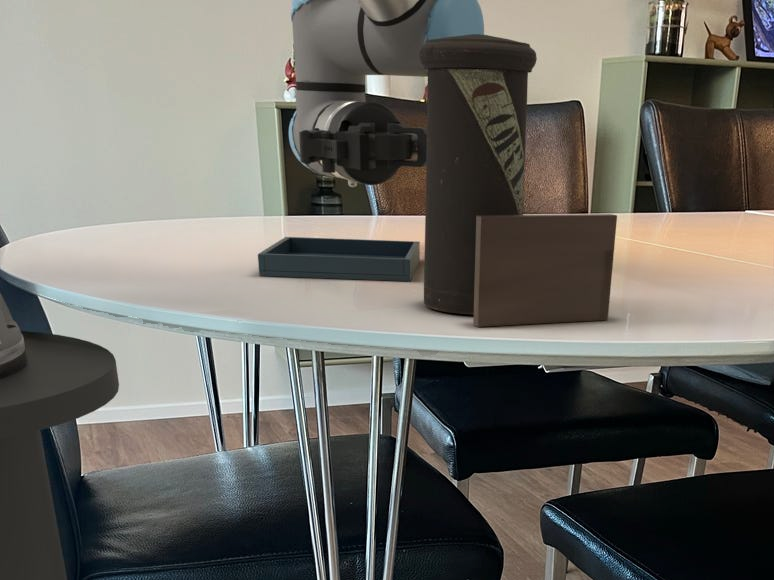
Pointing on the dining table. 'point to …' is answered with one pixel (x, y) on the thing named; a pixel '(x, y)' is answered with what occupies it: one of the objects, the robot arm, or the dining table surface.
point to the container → (470, 154)
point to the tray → (340, 259)
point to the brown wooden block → (543, 268)
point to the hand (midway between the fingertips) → (439, 153)
